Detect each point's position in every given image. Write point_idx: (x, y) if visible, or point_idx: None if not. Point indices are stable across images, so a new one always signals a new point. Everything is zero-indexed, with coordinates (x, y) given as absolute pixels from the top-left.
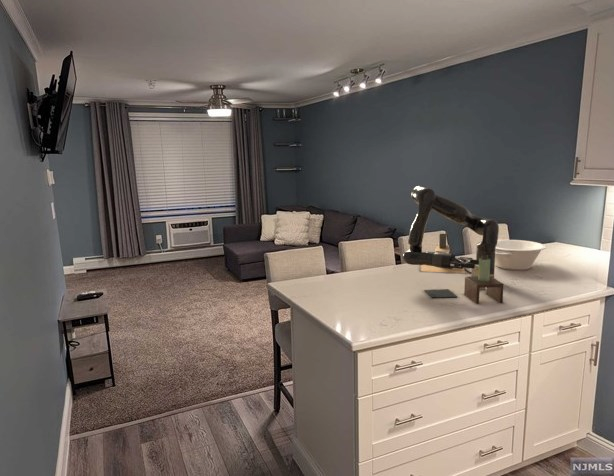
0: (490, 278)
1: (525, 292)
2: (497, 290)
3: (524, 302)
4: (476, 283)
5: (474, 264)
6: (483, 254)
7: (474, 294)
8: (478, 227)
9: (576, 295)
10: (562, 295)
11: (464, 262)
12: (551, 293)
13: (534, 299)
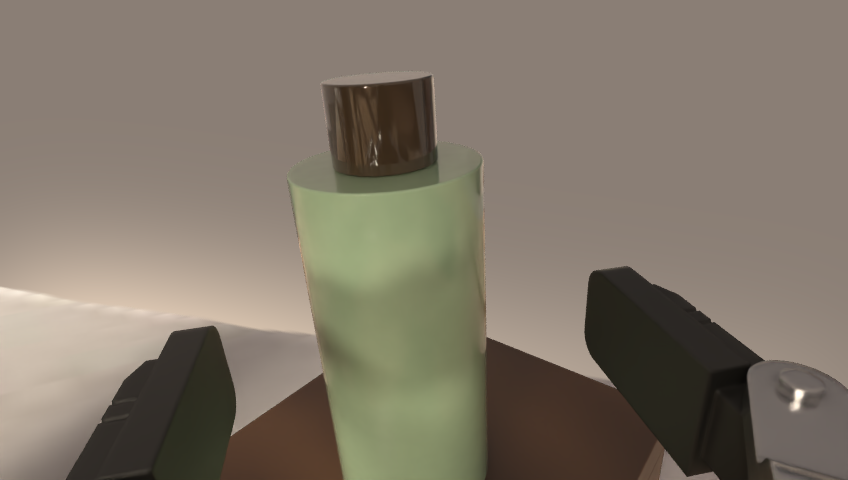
0: (280, 442)
1: (46, 452)
2: None
3: (318, 375)
4: (637, 439)
5: (601, 271)
6: (366, 80)
7: None
8: None
9: (69, 301)
10: (83, 326)
11: (796, 388)
12: (47, 360)
13: None
